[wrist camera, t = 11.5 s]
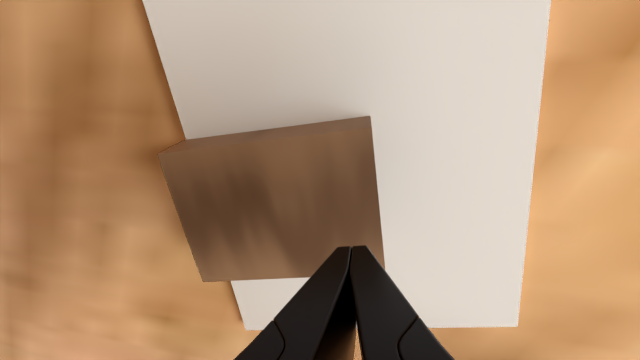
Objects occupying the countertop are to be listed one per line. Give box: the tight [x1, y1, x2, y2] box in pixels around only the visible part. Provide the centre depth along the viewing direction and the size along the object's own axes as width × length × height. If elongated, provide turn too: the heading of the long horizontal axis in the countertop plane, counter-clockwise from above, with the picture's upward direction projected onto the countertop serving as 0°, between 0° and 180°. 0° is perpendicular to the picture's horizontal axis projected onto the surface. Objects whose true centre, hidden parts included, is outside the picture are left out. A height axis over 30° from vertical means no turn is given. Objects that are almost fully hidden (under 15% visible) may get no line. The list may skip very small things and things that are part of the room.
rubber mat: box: [142, 0, 551, 330], centre depth 13 cm, size 18×14×1 cm
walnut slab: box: [157, 116, 385, 282], centre depth 13 cm, size 6×2×8 cm
